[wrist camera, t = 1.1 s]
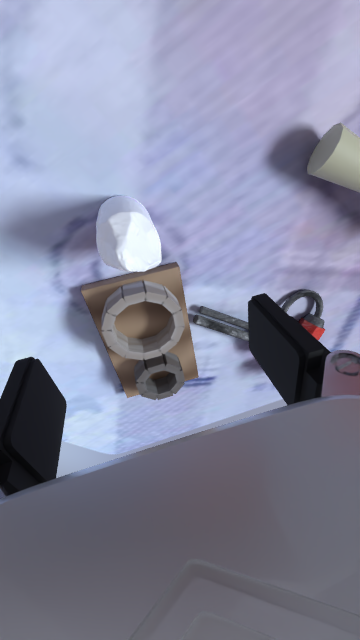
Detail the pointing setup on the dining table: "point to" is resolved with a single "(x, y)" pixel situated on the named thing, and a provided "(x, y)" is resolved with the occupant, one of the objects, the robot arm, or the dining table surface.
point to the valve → (308, 322)
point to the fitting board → (145, 330)
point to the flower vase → (337, 158)
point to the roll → (127, 235)
